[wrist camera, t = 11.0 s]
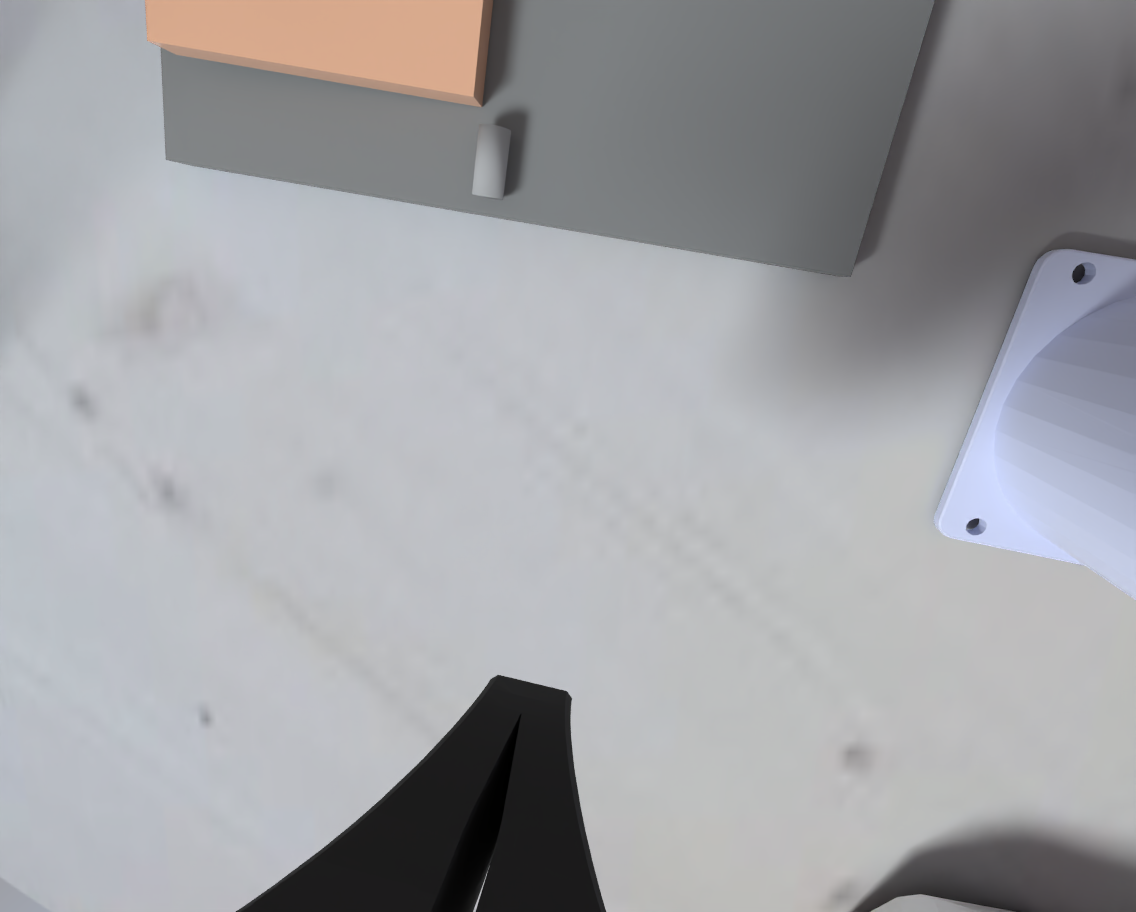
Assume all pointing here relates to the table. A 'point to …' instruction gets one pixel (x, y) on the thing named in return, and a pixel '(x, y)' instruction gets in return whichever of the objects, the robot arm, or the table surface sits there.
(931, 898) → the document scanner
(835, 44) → the mat
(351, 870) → the robot arm
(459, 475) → the table surface
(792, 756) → the table surface
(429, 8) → the tile
